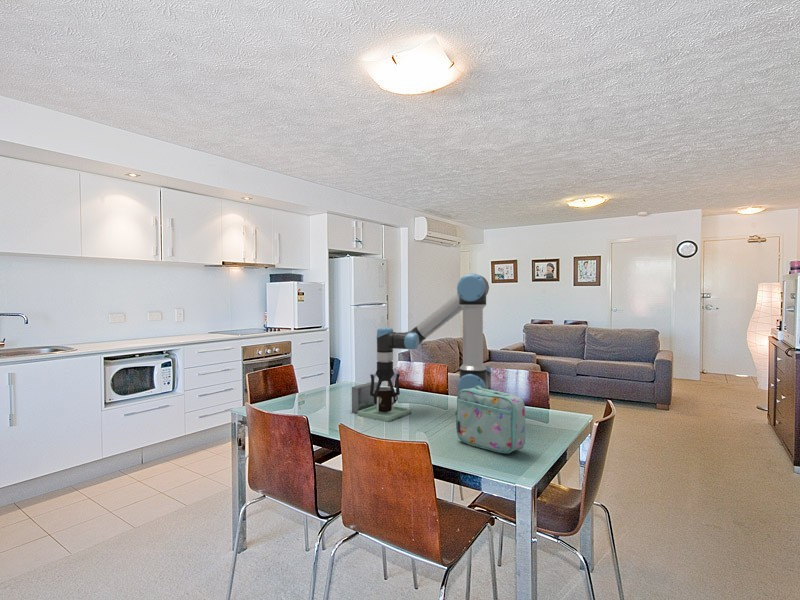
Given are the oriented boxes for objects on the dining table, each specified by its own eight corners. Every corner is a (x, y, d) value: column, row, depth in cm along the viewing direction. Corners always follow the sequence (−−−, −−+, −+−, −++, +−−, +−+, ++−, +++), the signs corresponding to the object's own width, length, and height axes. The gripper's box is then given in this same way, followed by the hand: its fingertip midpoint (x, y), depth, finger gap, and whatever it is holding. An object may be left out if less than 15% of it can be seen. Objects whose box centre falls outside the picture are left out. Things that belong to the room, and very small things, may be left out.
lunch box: (450, 441, 168) (450, 384, 168) (466, 435, 176) (467, 381, 175) (512, 459, 149) (512, 396, 149) (527, 452, 157) (528, 391, 156)
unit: (379, 406, 220) (379, 382, 220) (358, 413, 207) (358, 388, 207) (372, 405, 223) (372, 381, 222) (351, 412, 209) (351, 386, 209)
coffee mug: (372, 409, 209) (372, 388, 209) (389, 407, 213) (389, 386, 213) (381, 415, 199) (381, 392, 198) (399, 412, 202) (399, 391, 202)
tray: (411, 413, 208) (411, 409, 208) (388, 422, 193) (388, 417, 193) (381, 407, 218) (381, 403, 218) (357, 415, 203) (357, 411, 203)
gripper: (403, 359, 211) (403, 407, 211) (363, 360, 207) (363, 409, 208) (406, 361, 203) (406, 411, 204) (365, 362, 200) (365, 413, 200)
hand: (384, 410), depth 206 cm, fingers closed on coffee mug, 6 cm apart
